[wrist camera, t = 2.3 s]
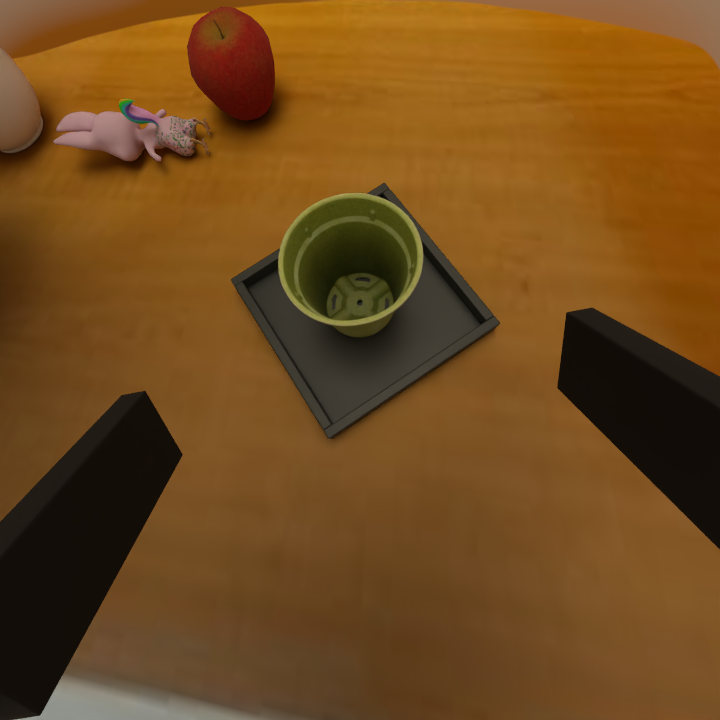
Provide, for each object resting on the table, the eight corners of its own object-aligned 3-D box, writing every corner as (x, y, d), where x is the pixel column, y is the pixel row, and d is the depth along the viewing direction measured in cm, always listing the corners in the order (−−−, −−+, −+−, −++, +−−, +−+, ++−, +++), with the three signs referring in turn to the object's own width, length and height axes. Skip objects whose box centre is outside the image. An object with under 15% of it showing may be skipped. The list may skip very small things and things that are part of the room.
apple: (208, 134, 37) (161, 54, 29) (224, 75, 38) (184, -15, 31) (278, 137, 36) (249, 56, 28) (291, 77, 37) (267, -15, 30)
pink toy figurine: (217, 130, 38) (72, 125, 37) (196, 75, 33) (24, 66, 31) (213, 178, 37) (63, 175, 36) (192, 129, 31) (11, 123, 30)
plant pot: (411, 360, 29) (420, 329, 21) (302, 354, 30) (268, 321, 22) (416, 259, 31) (426, 193, 23) (313, 256, 32) (287, 191, 24)
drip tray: (237, 287, 32) (230, 279, 31) (384, 194, 33) (384, 182, 32) (331, 439, 29) (328, 439, 27) (494, 329, 29) (500, 322, 28)
